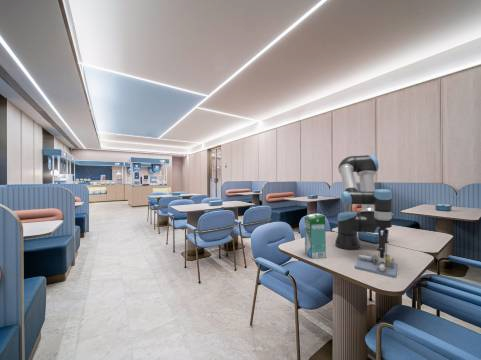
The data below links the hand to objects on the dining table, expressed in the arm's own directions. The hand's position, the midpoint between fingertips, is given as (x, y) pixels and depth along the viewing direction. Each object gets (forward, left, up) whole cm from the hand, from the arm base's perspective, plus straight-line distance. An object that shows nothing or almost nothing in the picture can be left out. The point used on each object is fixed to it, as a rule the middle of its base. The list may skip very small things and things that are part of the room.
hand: (383, 259), depth 108 cm
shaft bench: (-3, -4, -4) cm, 6 cm away
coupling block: (0, -1, -2) cm, 3 cm away
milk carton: (-34, -6, -4) cm, 35 cm away
